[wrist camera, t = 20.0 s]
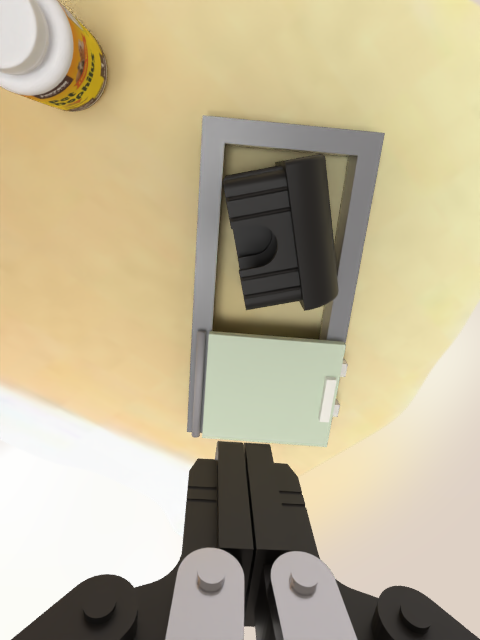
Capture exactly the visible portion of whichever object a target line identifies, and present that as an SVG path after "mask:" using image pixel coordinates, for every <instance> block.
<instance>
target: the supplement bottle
mask: <svg viewBox="0 0 480 640" xmlns="http://www.w3.org/2000/svg"><path fill="white" fill-rule="evenodd" d="M106 80H107V65H106V60H105V56H104V54H103V51H102V49H101V47H100V45H99V43H98V42H97V40H96V39H95V38H94V36H93V35H92V34H91V33H90V32H89V31H88V30H87V29H86V28H85V27H84V26H83V25H82V24H81V23H80V22H79V21H78V20H77V19H76V18H75V17H74V16H73V15H72V14H71V13H70V12H69V11H68V10H67V9H66V8H65V7H64V6H63V5H62V4H61V3H60V2H59V1H58V0H0V86H1V87H2V88H4V89H6V90H8V91H11V92H13V93H16V94H19V95H21V96H24V97H27V98H30V99H32V100H35V101H38V102H41V103H44V104H47V105H49V106H52V107H55V108H58V109H61V110H65V111H80V110H83V109H86V108H88V107H90V106H91V105H93V104H94V103H95V102H96V101H97V100H98V99H99V98H100V96H101V94H102V93H103V90H104V88H105V85H106Z"/></svg>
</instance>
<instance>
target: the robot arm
mask: <svg viewBox="0 0 480 640" xmlns="http://www.w3.org/2000/svg"><path fill="white" fill-rule="evenodd" d="M244 626H252V627H254V626H255V629H256V640H480V639H479V638H477V637H476V636H475V635H474V634H473V633H471V632H470V631H469V630H468V629H466V628H465V627H464V626H463V625H462V624H460V623H459V622H458V621H457V620H455V619H454V618H453V617H452V616H450V615H449V614H448V613H447V612H445V611H444V610H443V609H442V608H441V607H439V606H438V605H437V604H436V603H434V602H433V601H432V600H431V599H429V598H428V597H427V596H425V595H424V594H422V593H420V592H419V591H417V590H414V589H412V588H409V587H405V586H392V587H389V588H387V589H385V590H384V591H383V592H382V593H381V595H380V597H379V598H376V597H373V596H371V595H368V594H365V593H362V592H359V591H356V590H354V589H351V588H349V587H347V586H345V585H343V584H341V583H340V582H339V581H337V580H336V579H335V578H334V576H333V573H332V572H331V570H330V569H329V568H328V566H327V565H326V564H325V563H324V562H322V561H321V560H320V558H319V555H318V551H317V547H316V544H315V540H314V536H313V533H312V529H311V525H310V521H309V517H308V514H307V510H306V508H305V502H304V498H303V495H302V491H301V487H300V484H299V480H298V477H297V475H296V474H295V473H294V472H293V470H292V469H291V468H290V467H289V465H288V464H281V463H274V462H273V457H272V452H271V447H270V445H269V444H256V443H244V445H243V443H239V442H223V441H218V442H217V447H216V456H215V460H213V459H197V461H196V462H195V464H194V465H193V466H192V468H191V469H190V471H189V480H188V491H187V502H186V513H185V524H184V535H183V547H182V555H181V557H180V560H179V562H178V564H177V565H176V567H175V568H174V569H173V570H172V571H171V572H170V573H169V574H168V575H166V576H165V577H164V578H162V579H160V580H158V581H155V582H153V583H150V584H146V585H143V586H139V587H136V588H134V587H133V586H132V585H131V584H130V582H128V581H127V580H126V579H124V578H122V577H120V576H116V575H109V574H106V575H99V576H94V577H92V578H89V579H87V580H85V581H83V582H82V583H80V584H79V585H77V586H76V587H75V588H74V589H72V590H71V591H70V592H69V593H67V594H66V595H65V596H64V597H63V598H61V599H60V600H59V601H58V602H57V603H55V604H54V605H53V606H52V607H50V608H49V609H48V610H47V611H46V612H44V614H42V615H41V616H39V617H38V618H37V619H36V620H35V621H33V622H32V623H31V624H30V625H28V626H27V627H26V628H25V629H24V630H22V631H21V632H20V633H19V634H17V635H16V636H15V637H14V638H13V639H11V640H244Z"/></svg>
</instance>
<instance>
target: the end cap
mask: <svg viewBox="0 0 480 640" xmlns="http://www.w3.org/2000/svg"><path fill="white" fill-rule="evenodd" d="M223 186H224V192H225V197H226V203H227V208H228V214H229V219H230V225H231V229H233V233H234V238H235V244H236V249H237V255H238V261H239V267H240V270H239V274H240V279H241V284H242V290H243V295H244V301H245V306H246V310H250V309H255V308H261V307H267V306H272V305H278V304H284V303H289V302H295V301H300V303H301V305H302V307H303V309H304V311H305V310H310V309H314V308H318V307H320V306H323V305H326V304H328V303H329V302H331V301H333V300H334V299H335V298H336V297H337V295H338V291H339V290H338V280H337V270H336V260H335V250H334V240H333V230H332V220H331V210H330V200H329V190H328V180H327V170H326V160H325V156H324V155H322V154H319V155H313V156H307V157H302V158H296V159H291V160H286V161H280V162H275V166H274V167H269V168H264V169H259V170H253V171H248V172H243V173H238V174H232V175H227V176H226V177H225V178H224V180H223Z"/></svg>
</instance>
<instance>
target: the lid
mask: <svg viewBox="0 0 480 640" xmlns="http://www.w3.org/2000/svg"><path fill="white" fill-rule="evenodd" d="M205 341H206V331H203V330H199V331H197V346H196V365H195V383H194V402H193V420H192V436H193V437H199V436H200V421H201V405H202V389H203V373H204V357H205ZM345 347H346V344H345V343H344V342H341V341H328V340H316V339H304V338H291V337H279V336H266V335H254V334H242V333H229V332H217V331H209V339H208V354H207V370H206V386H205V401H204V417H203V432H202V438H212V439H225V440H239V441H252V442H266V443H279V444H293V445H306V446H320V447H327V443H328V438H329V433H330V427H331V422H332V417H333V411H334V406H335V401H336V395H337V390H338V385H339V379H340V374H341V369H342V363H343V358H344V353H345Z"/></svg>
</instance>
